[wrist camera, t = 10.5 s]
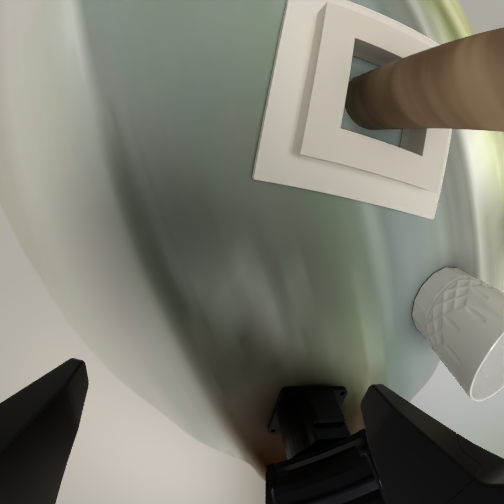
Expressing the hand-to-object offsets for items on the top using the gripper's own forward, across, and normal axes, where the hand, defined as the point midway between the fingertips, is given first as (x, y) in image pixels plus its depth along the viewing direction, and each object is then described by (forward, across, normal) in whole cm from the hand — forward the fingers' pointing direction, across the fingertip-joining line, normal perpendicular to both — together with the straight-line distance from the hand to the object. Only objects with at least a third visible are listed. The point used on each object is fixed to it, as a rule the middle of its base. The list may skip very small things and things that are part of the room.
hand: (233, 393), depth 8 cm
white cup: (+13, -20, +2) cm, 24 cm away
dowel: (+13, -8, -12) cm, 19 cm away
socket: (+13, -8, -12) cm, 19 cm away
